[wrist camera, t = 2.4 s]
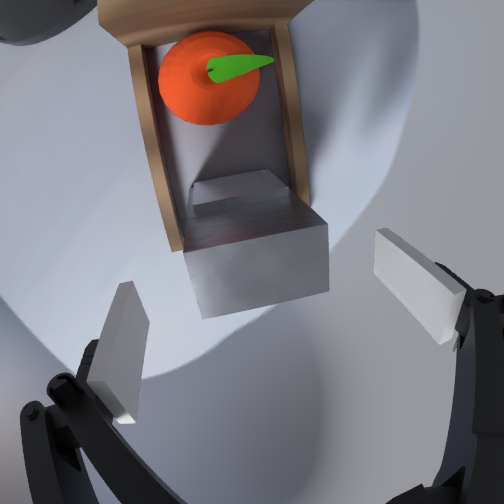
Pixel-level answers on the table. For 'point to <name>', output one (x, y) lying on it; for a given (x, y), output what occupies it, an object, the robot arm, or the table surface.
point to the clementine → (210, 77)
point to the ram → (252, 244)
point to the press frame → (185, 24)
